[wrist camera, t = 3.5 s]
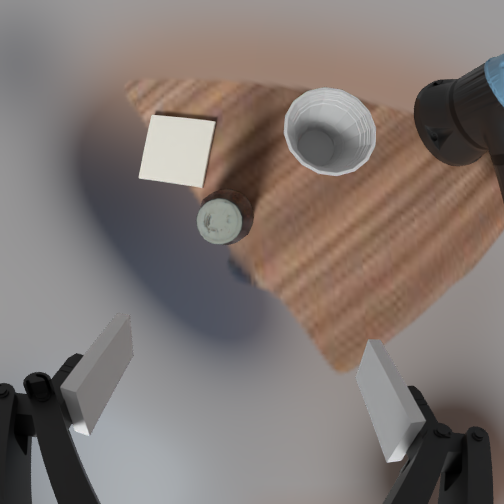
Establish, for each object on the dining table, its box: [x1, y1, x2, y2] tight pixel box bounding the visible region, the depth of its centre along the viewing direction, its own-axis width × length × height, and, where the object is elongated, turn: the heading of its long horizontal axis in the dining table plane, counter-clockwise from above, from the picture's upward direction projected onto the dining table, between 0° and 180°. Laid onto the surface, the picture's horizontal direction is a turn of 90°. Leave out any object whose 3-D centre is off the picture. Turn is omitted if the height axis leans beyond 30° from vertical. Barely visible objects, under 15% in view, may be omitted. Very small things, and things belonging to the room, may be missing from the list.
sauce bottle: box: [197, 189, 254, 245], centre depth 37 cm, size 7×6×20 cm
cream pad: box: [139, 115, 216, 188], centre depth 45 cm, size 10×10×1 cm
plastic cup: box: [284, 87, 376, 176], centre depth 39 cm, size 11×11×12 cm
